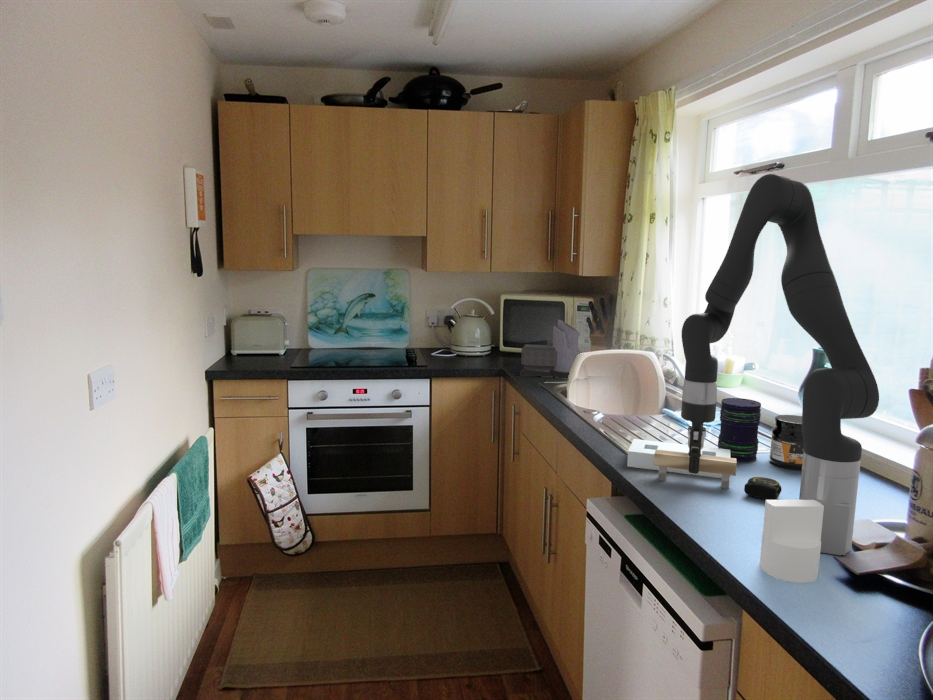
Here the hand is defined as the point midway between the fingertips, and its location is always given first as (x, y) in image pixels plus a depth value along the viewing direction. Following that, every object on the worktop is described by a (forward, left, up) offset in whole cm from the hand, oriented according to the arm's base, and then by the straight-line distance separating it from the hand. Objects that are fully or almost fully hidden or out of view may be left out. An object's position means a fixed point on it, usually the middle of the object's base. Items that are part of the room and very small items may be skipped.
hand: (694, 467), depth 157 cm
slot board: (+12, +4, -4) cm, 13 cm away
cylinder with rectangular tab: (-40, -17, -4) cm, 44 cm away
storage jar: (+26, -10, -4) cm, 28 cm away
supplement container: (+25, -23, -4) cm, 34 cm away
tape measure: (-4, -15, -4) cm, 16 cm away
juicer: (+121, +62, -4) cm, 136 cm away
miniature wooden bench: (0, 0, -4) cm, 4 cm away
